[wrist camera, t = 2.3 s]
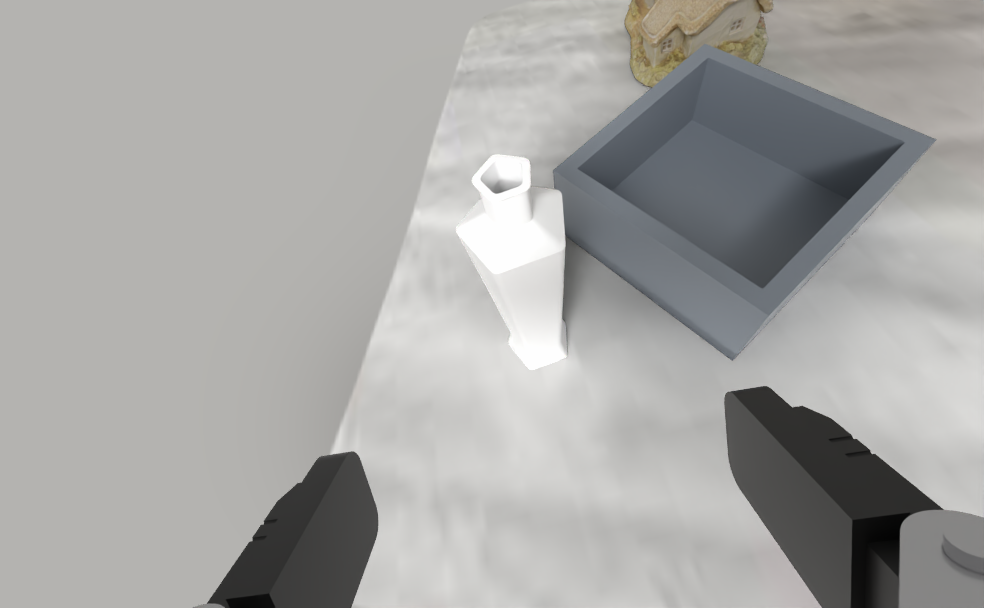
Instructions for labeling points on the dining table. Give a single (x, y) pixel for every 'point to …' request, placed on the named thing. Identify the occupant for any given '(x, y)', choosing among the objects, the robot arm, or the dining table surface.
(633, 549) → the dining table surface
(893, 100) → the dining table surface
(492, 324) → the dining table surface
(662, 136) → the tote
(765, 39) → the ceramic model
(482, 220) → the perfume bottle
